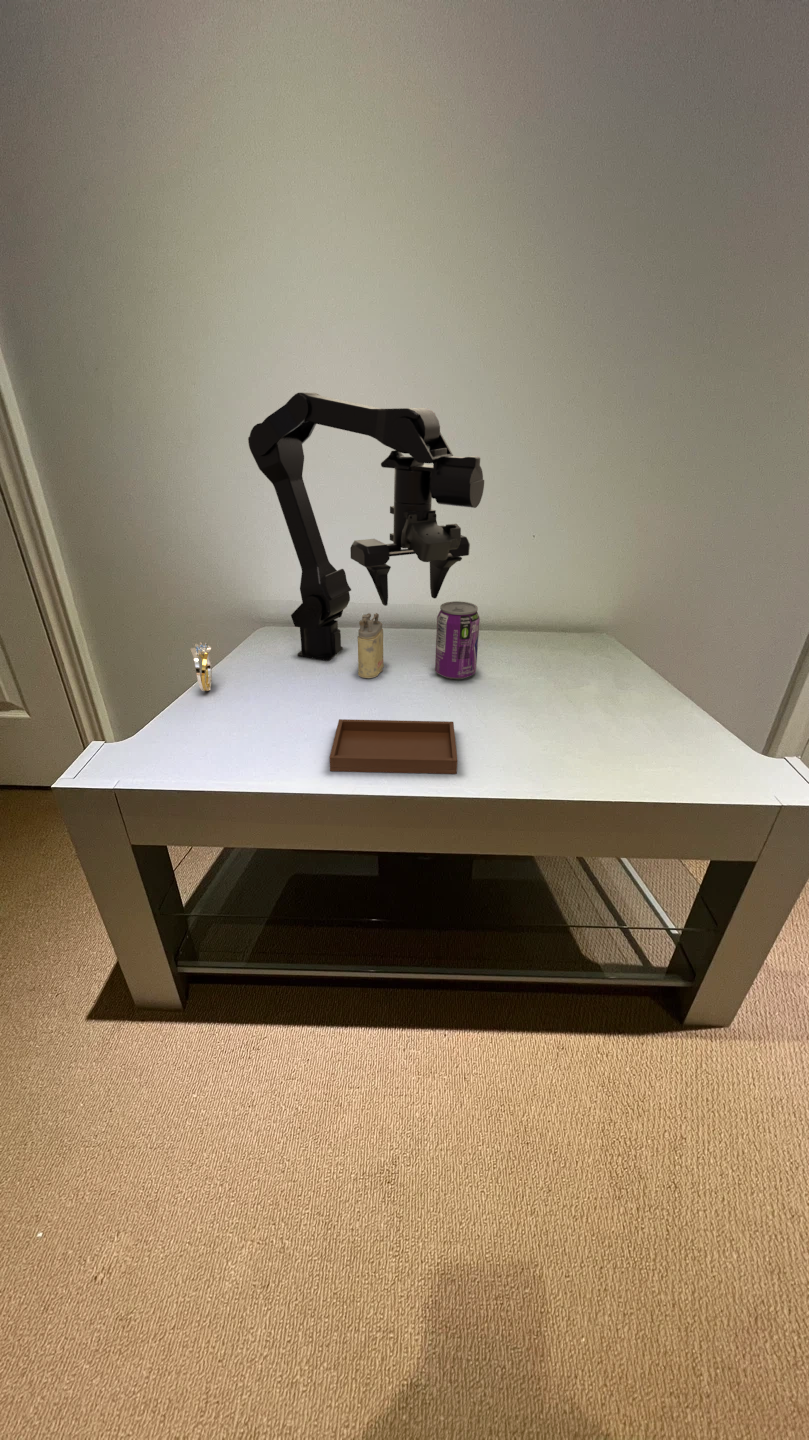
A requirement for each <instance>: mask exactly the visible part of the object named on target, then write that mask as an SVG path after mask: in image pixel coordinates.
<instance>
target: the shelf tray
mask: <svg viewBox="0 0 809 1440" xmlns="http://www.w3.org/2000/svg"><path fill="white" fill-rule="evenodd" d="M454 723H455V722H454V721H447V720H446V721H443V720H441V721H440V720H396V719H395V720H394V719H393V720H391V719H390V720H389V719H345V718H344V719H341V718H340V719H338V722H337V726H336V730H335V734H334V737H333V741H332V746H331V749H330V753H329V771H330V772H342V773H343V772H346V773H347V772H348V773H350V772H351V773H391V774H393V773H395V774H396V773H397V774H398V773H399V774H434V775H435V774H437V775H438V774H440V775H441V774H442V775H443V774H444V775H457V774H458V753H457V741H456V733H455V725H454Z"/></svg>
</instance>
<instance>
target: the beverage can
mask: <svg viewBox="0 0 809 1440" xmlns="http://www.w3.org/2000/svg"><path fill="white" fill-rule="evenodd" d="M439 609H440V610H439V612H438V614H437V616H436V632H435V633H436V634H435V637H436V638H435V662H434V670H435V672H436V673H437V674H438V675H440V676H442V677H444V678H445V679H450V680H464V679H466V678H468V677H472V676H473V675H475V674H476V672H477V664H478V663H477V662H478V650H479V649H478V648H479V636H480V623H481V622H480V620H481V618H480V615H479V612H478V610H479V607H478V605H476V604H474V603H472V602H468V601H460V600H459V601H456V600H455V601H448V602H444V603H442V604H440V607H439Z"/></svg>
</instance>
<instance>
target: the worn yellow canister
mask: <svg viewBox="0 0 809 1440" xmlns="http://www.w3.org/2000/svg"><path fill="white" fill-rule="evenodd" d="M371 617H372V614H371V613H370V612H368V613H367V614H362V616H361V620H360V621H359V622H358V624H359V625H358V626H359V629H358V632H357V667H358V668H357V669H358V672H357V675H358V676H359V677H360V678H362V679H372V678H376V677H378V676H379V674H380V673H382V672H383V671H384V670H383V668H384V667H385V664H384V628H383V623H382V621H380V620H379V618H380V614H379V613H377V612H376V613H373V617H372V619H371Z"/></svg>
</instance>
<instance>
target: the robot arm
mask: <svg viewBox="0 0 809 1440" xmlns="http://www.w3.org/2000/svg"><path fill="white" fill-rule="evenodd" d="M317 425H320V426H325V427H329V428H333V429H338V430H342V431H346V432H350V433H356V434H359V435H365V436H368V437H371V438H373V439H375V440H377V441H378V442H379V443H381V444H382V445H383V446H385V447H387V448H390V449H391V451H390V453H389V455H387V457H386V458H385V459H384V460H382V461H381V463H380V467H381V468H384V469H393V470H394V471H393V473H394V476H393V477H394V478H393V479H394V480H393V481H394V482H393V484H394V485H393V505H390V506H389V514H392V515H393V532H391V533H389V541H390V542H393V543H384V542H382V541H380V540H378V539H376V538H365V539H356V540H354V541H353V542H352V544H351V546H350V559H351V560H353V561H355V562H357V563H358V564H359V565H361V566H362V567H365V568H366V570H367V572H368V574H369V576H370V578H371V580H372V582H373V585H374V587H375V589H376V591H377V594H378V597H379V599H380V602H381V604H382V606H385V607H386V606H388V603H389V580H388V575H389V572H390V571H391V569H392V567H391V565H388V564H387V563H388V562H389V561H390V557H397V556H408V555H415V556H417V559H418V560H419V561H420V562H423V563H429V589H430V590H429V591H430V597H431V598H432V599H437V598H438V596H439V593H440V591H441V589H442V586H443V583H444V581H445V579H446V577H447V574H448V572H449V571H450V569H451V567H453V566H454V565H455V564H457V562H461V561H462V560H463V557H466V556H469V555H470V549H471V548H470V547H471V543H470V541H469V539H468V538H467V536H466V535H462V528H461V527H460V525H458V524H457V523H448V524H445V525H444V524H443V525H438V521H437V510H436V509H432V501H433V500H435V501H436V503H437V504H438V505H443V506H452V507H463V508H472V509H476V508H477V507H479V505H480V503H481V501H482V498H483V495H484V490H485V479H484V473H483V469H482V467H481V457H480V456H479V455H478V456H477V455H469V456H456V455H454V454H453V452H452V450H451V449H450V447H449V445H448V443H447V442H446V440H445V438H444V435H443V434H442V432H441V423H440V421H439V419H438V417H437V415H436V413H435V412H434V411H433V410H431V409H429V408H426V407H406V408H403V407H402V408H401V407H400V408H399V407H397V408H396V407H395V408H381V407H377V406H371V405H367V404H362V403H357V402H352V401H347V400H342V399H338V398H333V397H328V396H323V395H320V394H319V393H317V392H297V393H294V394H293V395H292V396H291V397H290V399H288V400H287V402H286V403H285V404H283V405H282V406H281V407H279V408H278V409H276V410H275V411H274V412H272V413H271V414H270V415H268V416H267V417H266V418H264V420H263V421H262V422H259V423H257V424H255V425H254V426H253V427H252V429H251V430H250V433H249V436H248V437H247V442H248V449H249V451H250V453H251V455H252V457H253V459H254V461H255V463H256V465H257V467H258V469H259V471H260V472H261V473H262V474H263V475H264V476H265V478H267V479H268V481H269V482H270V483H271V484H272V486H273V488H274V492H275V493H276V496H277V499H278V502H279V505H280V508H281V512H282V514H283V517H284V521H285V523H286V526H287V530H288V532H289V535H290V538H291V541H292V544H293V547H294V551H295V554H296V556H297V559H298V562H299V566H300V568H301V574H300V575H301V576H300V584H299V591H300V598H301V602H302V603H301V604H300V605H299V606H298V607H297V608H296V609H295V610H294V611H293V612H292V613H291V614H290V618H291V621H292V623H293V626H294V627H296V628H299V637H300V649H301V650H300V651H299V652H298V653H297V657H299V658H305V659H312V660H317V661H324V662H329V661H331V660H333V658H335V657H336V656H337V655H338V654H339V653H340V652H341V651H343V650H344V649H343V648H344V647H343V646H342V637H341V635H342V633H341V629H339V622H338V620H337V619H338V618H341V617H342V616H343V613H344V610H345V609H346V608H347V607H348V605H349V603H350V601H351V595H350V592H351V591H352V588H351V587H350V585H349V583H348V581H347V573H346V572H345V569H344V568H340V569H338V570H337V569H336V568H335V567H334V566H333V564H332V563H331V562H330V560H329V558H328V555H327V551H326V548H325V545H324V542H323V538H322V536H321V531H320V529H319V526H318V523H317V520H316V515H315V514H314V511H313V508H312V504H311V501H310V498H309V495H308V491H307V488H306V485H305V481H304V478H303V471H304V463H305V454H304V453H305V452H304V448H303V444H305V442H306V441H307V440H308V439H309V438H310V437H312V434H313V432H314V430H315V427H316V426H317ZM404 454H405V455H404ZM406 454H408V455H406Z"/></svg>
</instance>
